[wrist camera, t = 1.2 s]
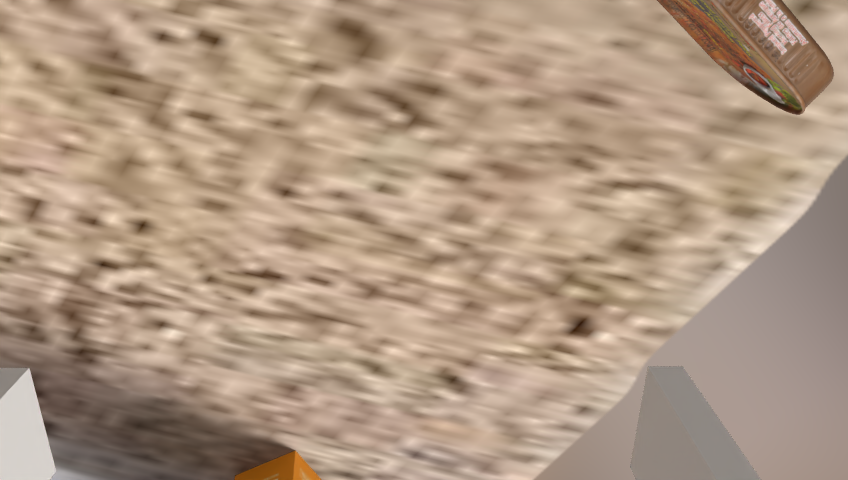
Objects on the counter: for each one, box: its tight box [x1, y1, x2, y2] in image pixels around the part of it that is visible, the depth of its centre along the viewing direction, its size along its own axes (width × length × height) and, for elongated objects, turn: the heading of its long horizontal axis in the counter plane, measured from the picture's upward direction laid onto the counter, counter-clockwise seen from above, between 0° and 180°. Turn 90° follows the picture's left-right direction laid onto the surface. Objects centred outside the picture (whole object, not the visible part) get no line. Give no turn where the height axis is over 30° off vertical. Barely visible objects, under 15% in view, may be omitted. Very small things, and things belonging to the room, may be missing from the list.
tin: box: [657, 0, 834, 115], centre depth 37 cm, size 15×3×8 cm, turn 50°
